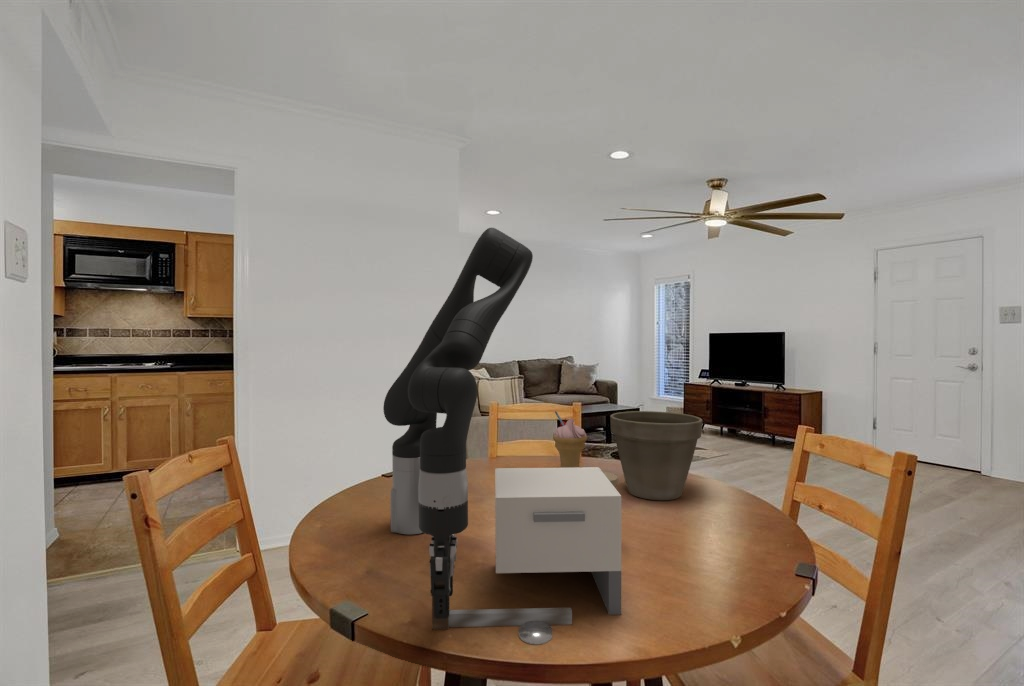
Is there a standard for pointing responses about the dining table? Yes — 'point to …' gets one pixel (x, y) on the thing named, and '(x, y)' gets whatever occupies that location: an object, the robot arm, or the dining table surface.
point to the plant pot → (655, 451)
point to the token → (535, 632)
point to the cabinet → (560, 525)
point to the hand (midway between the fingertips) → (443, 605)
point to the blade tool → (501, 617)
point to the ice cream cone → (569, 443)
